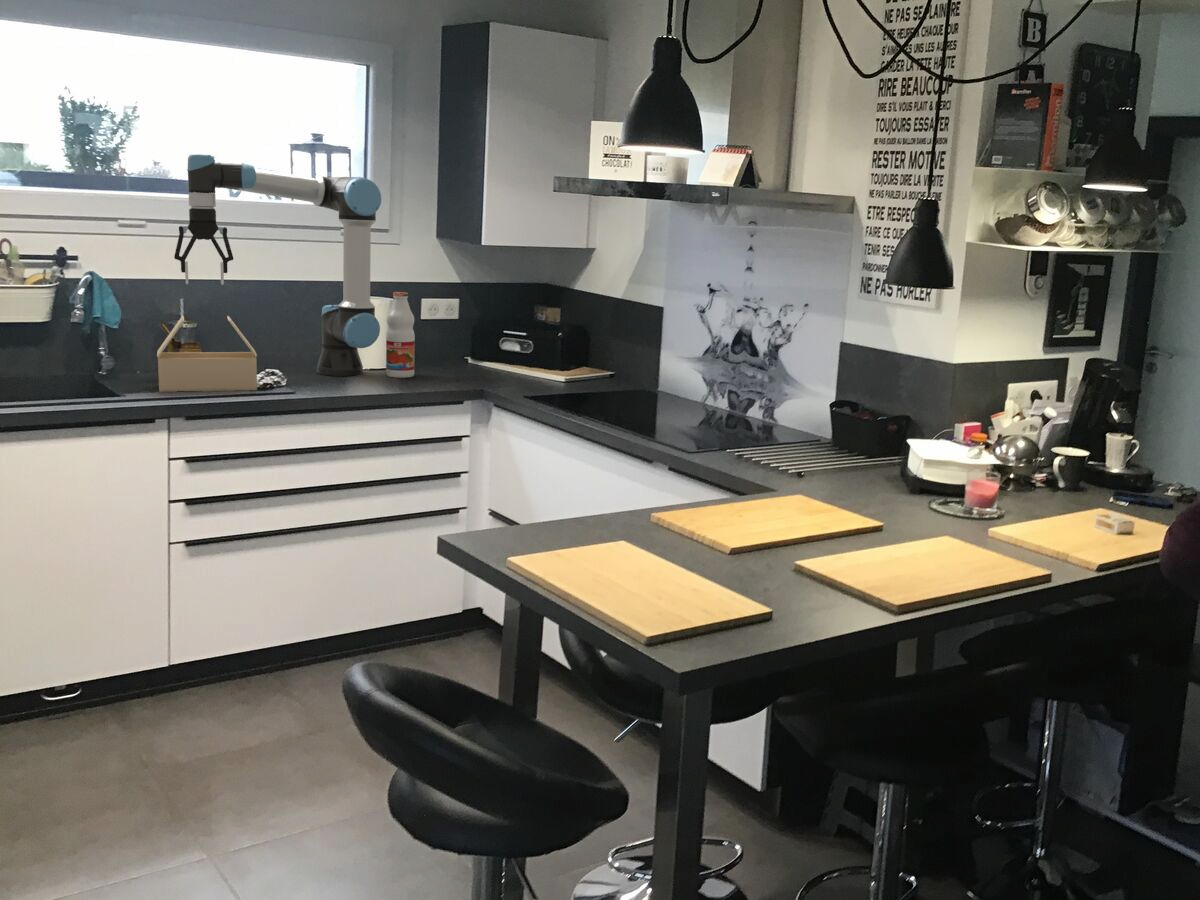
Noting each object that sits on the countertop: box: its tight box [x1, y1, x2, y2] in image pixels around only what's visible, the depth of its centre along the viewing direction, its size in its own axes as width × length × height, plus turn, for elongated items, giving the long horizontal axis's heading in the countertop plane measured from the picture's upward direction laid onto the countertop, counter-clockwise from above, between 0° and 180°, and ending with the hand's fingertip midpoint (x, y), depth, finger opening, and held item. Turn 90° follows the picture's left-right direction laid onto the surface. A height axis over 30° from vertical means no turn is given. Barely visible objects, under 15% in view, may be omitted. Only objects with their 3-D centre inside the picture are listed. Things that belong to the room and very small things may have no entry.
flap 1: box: [156, 315, 185, 358], centre depth 354 cm, size 13×12×1 cm
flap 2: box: [226, 315, 258, 357], centre depth 361 cm, size 13×12×1 cm
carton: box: [157, 351, 258, 393], centre depth 360 cm, size 28×13×10 cm, turn 109°
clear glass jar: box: [158, 321, 203, 353], centre depth 374 cm, size 9×14×18 cm, turn 105°
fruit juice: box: [385, 291, 416, 379], centre depth 395 cm, size 9×9×28 cm
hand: (204, 283), depth 354 cm, fingers open, 9 cm apart
